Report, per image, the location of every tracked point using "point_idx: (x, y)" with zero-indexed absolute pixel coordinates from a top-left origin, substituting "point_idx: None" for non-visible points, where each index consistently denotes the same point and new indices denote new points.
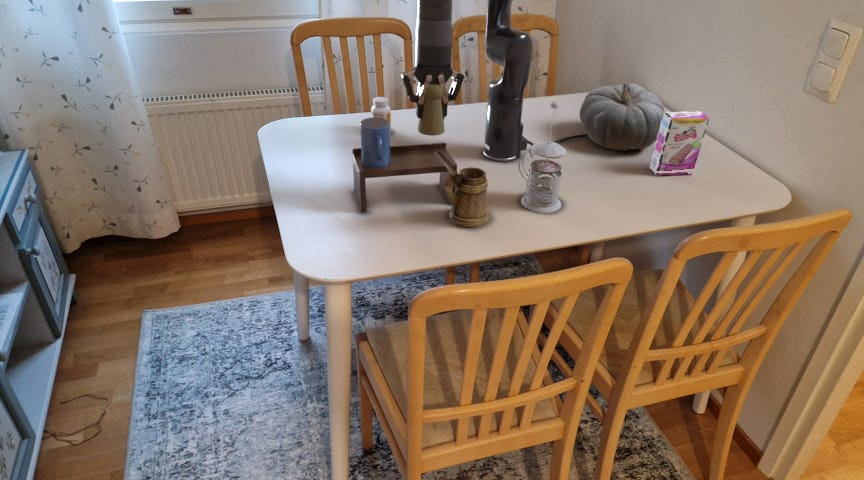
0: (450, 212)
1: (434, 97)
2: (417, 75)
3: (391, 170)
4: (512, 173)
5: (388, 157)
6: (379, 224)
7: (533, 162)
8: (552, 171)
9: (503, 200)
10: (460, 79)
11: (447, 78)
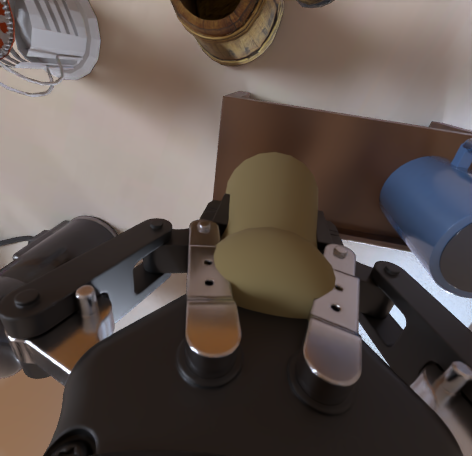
0: (278, 20)
1: (281, 230)
2: (431, 413)
3: (418, 127)
4: (89, 174)
5: (411, 171)
6: (440, 55)
7: (4, 49)
8: None
9: (134, 70)
10: (50, 287)
11: (150, 320)
